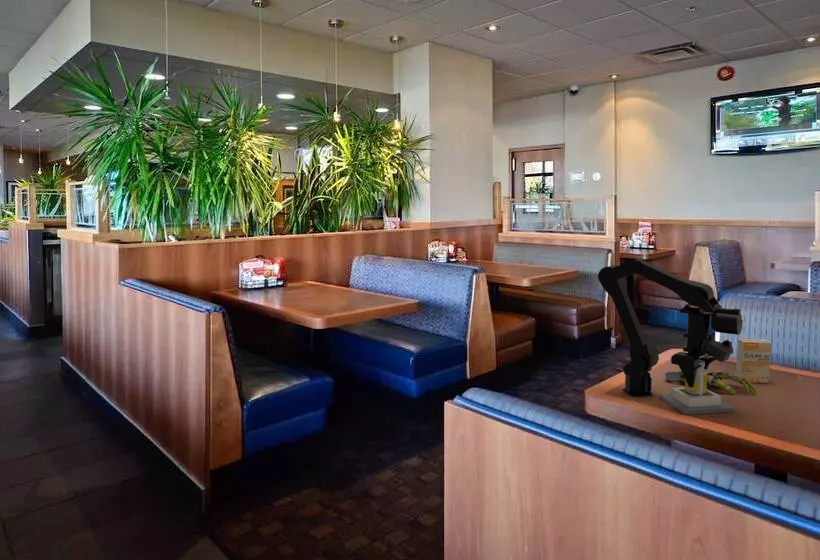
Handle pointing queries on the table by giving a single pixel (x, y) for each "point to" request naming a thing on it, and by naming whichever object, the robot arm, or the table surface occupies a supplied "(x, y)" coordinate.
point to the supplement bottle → (698, 383)
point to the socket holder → (696, 402)
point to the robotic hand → (716, 380)
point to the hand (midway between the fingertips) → (695, 384)
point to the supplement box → (753, 360)
